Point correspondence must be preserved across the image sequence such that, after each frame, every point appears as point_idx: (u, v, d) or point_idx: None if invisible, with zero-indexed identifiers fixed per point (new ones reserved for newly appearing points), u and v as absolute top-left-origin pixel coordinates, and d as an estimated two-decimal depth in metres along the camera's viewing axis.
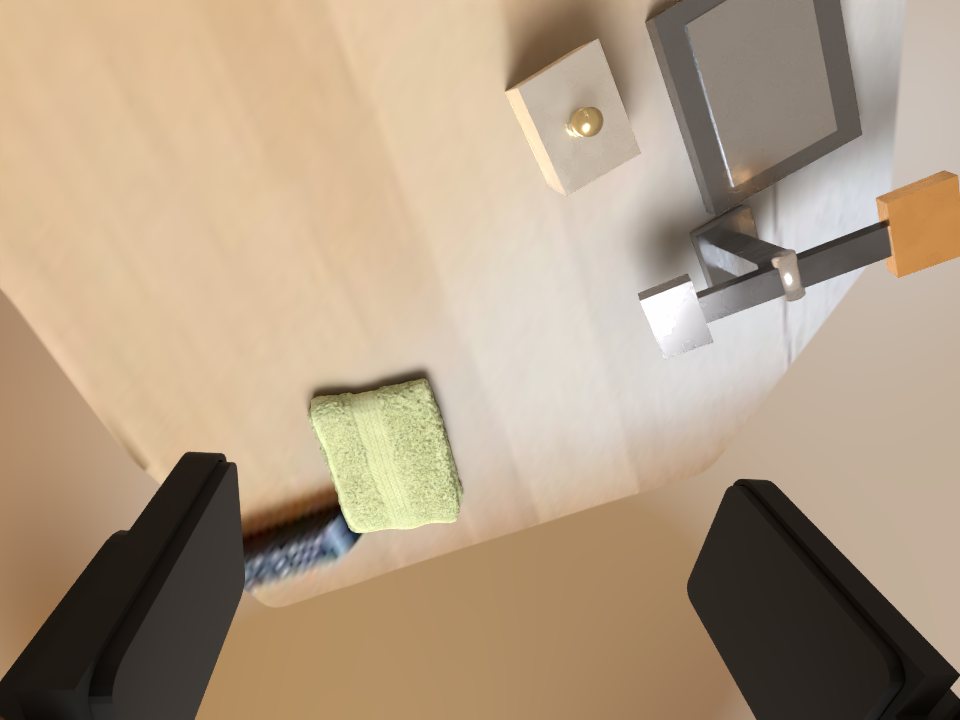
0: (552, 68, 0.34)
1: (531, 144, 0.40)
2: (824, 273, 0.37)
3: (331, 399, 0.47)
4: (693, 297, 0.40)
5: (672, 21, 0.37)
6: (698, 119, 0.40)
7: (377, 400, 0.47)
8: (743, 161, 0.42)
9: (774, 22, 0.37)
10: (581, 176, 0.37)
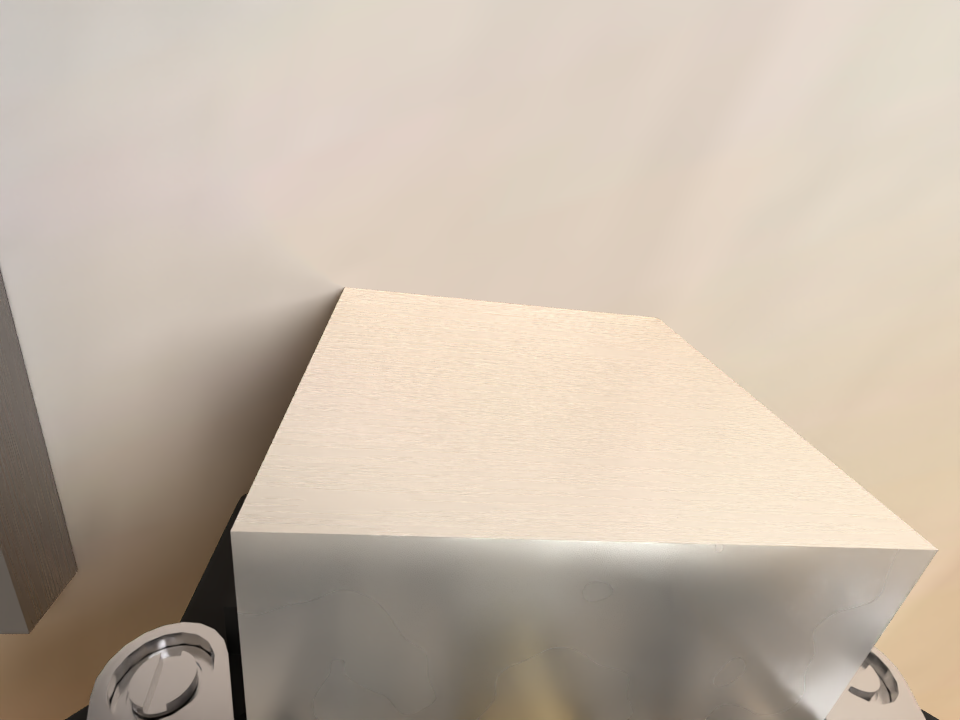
0: None
1: None
2: None
3: None
4: None
5: None
6: None
7: None
8: None
9: None
10: (753, 602, 0.05)
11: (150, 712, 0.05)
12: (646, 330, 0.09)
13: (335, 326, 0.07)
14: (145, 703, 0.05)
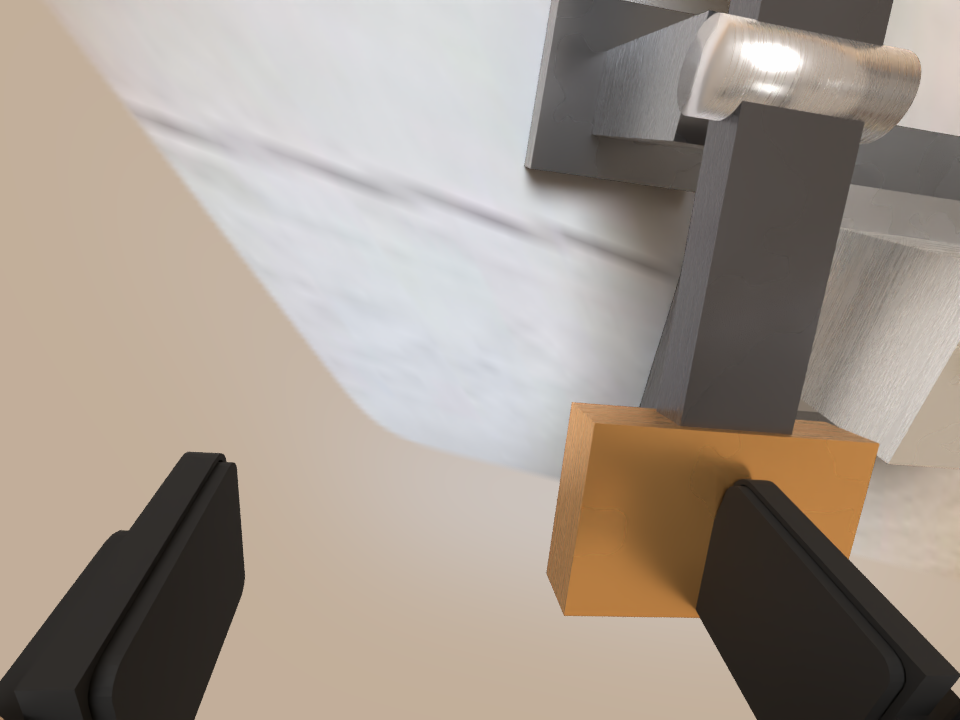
0: None
1: (952, 246, 0.18)
2: (755, 195, 0.09)
3: None
4: None
5: None
6: (952, 166, 0.18)
7: None
8: None
9: None
10: None
11: None
12: (839, 246, 0.18)
13: None
14: None
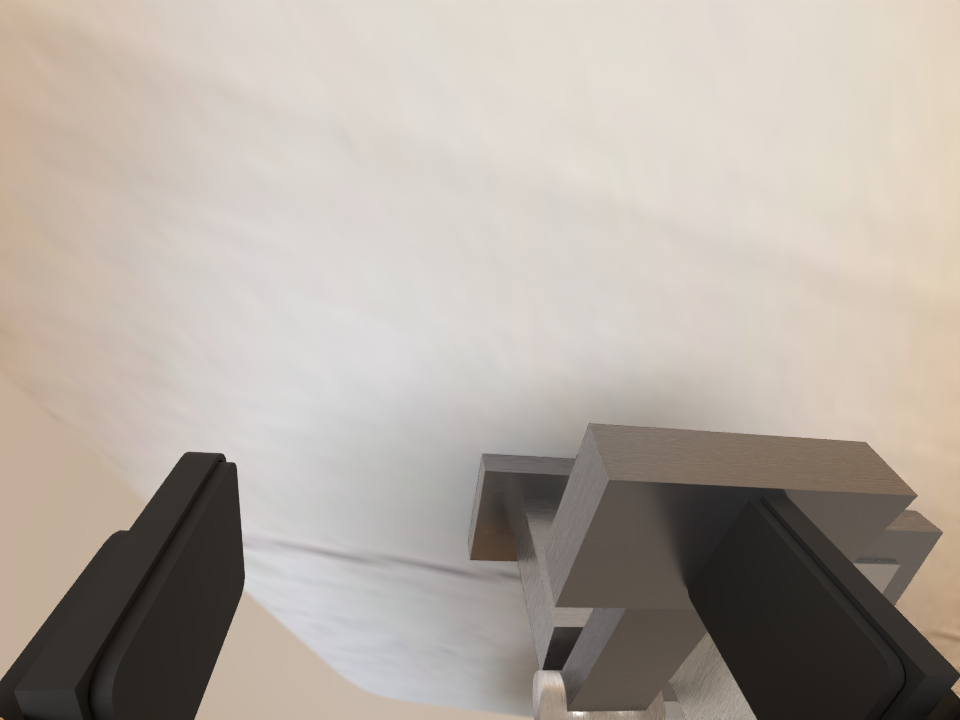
0: None
1: None
2: None
3: None
4: None
5: (916, 550, 0.25)
6: None
7: None
8: None
9: None
10: None
11: None
12: None
13: (678, 698, 0.25)
14: None
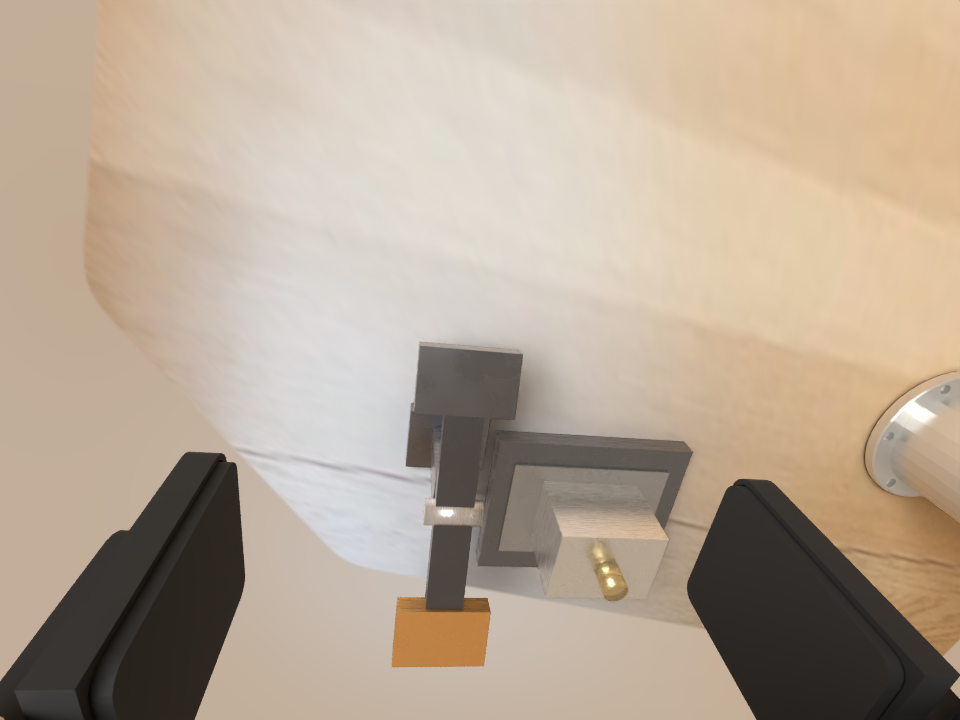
0: (657, 566, 0.38)
1: (593, 493, 0.40)
2: (440, 547, 0.31)
3: None
4: (491, 414, 0.30)
5: (678, 463, 0.42)
6: (595, 456, 0.40)
7: None
8: (532, 479, 0.40)
9: None
10: (567, 553, 0.36)
11: None
12: (544, 493, 0.40)
13: (535, 554, 0.41)
14: None
